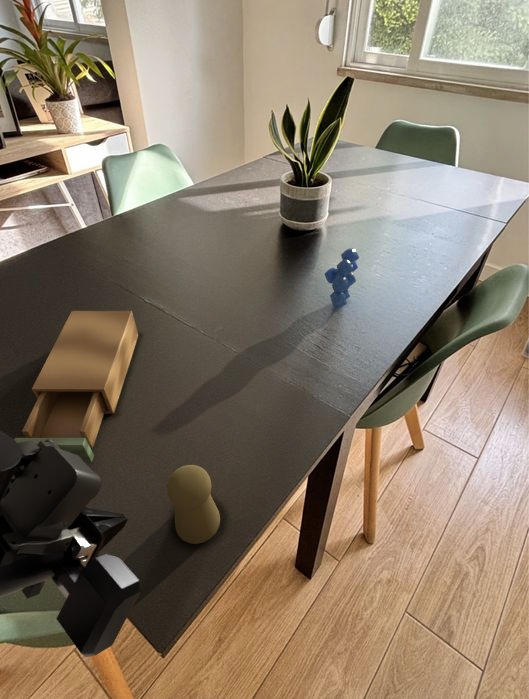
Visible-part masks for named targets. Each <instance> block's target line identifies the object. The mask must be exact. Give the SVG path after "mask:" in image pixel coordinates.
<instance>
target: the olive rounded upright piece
mask: <svg viewBox="0 0 529 699" xmlns="http://www.w3.org/2000/svg"><path fill="white" fill-rule="evenodd" d="M211 481H212V480H211V477H210V475H209V473H208V472H207V470H205V469H204V468H203V467H201V466H199V465H196V464H187V465H182V466H180V467H178V468H177V469H175V471H174V472H172V473H171V475H170V476H169V478H168V481H167V486H166V491H167V492H166V494H167V496H168V498H169V501H170V502H171V503H172V504H173V505H174V527H175V528H174V529H175V531H176V533H177V536H178V537H179V539H181V540H182V541H184V542H186V543H188V544H194V545H198V544H201V543H203V544H204V543H205V542H207V541H209V540H211V539H212V538H213V536H214V535H216V534H217V532H218V529H219V527H220V523H221V515H220V511H219V509H218V507H217V505H216V503H215V501H214V498H213V497H212V495H211V491H212V486H213V485H212V482H211Z"/></svg>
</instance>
